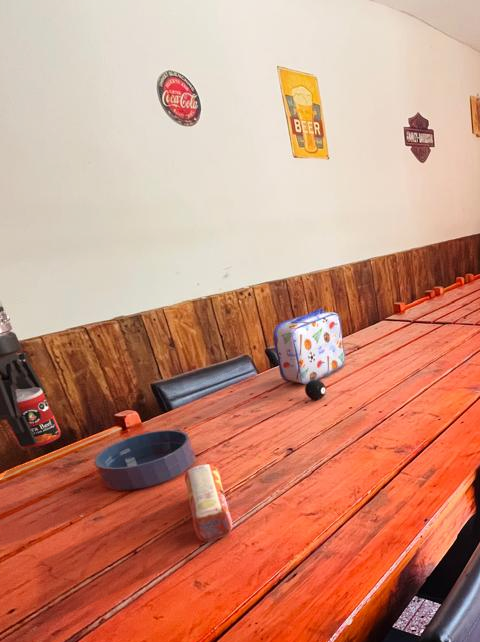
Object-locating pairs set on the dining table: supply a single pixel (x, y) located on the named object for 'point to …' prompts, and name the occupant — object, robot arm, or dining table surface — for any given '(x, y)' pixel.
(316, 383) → the billiard ball
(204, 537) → the snack package
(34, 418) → the canned food
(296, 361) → the lunch box
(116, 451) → the bowl
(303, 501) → the dining table surface
